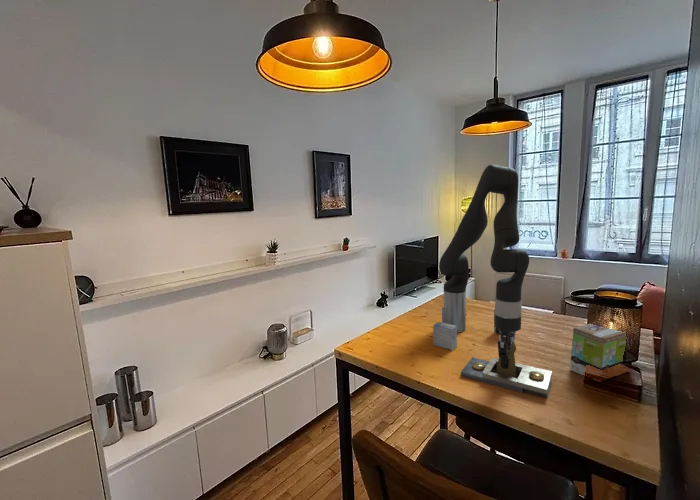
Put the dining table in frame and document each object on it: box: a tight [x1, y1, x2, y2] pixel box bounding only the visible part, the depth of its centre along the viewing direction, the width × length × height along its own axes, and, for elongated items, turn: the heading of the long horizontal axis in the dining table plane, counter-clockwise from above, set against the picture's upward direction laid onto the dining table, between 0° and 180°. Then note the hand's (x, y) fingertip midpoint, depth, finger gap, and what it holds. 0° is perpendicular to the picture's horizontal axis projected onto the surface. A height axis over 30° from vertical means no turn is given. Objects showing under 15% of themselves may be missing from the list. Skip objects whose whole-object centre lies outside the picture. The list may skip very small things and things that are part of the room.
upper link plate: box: [482, 357, 553, 398], centre depth 108 cm, size 18×12×4 cm
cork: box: [495, 342, 518, 378], centre depth 109 cm, size 6×6×11 cm
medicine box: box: [432, 321, 458, 351], centre depth 135 cm, size 8×4×9 cm, turn 47°
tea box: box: [569, 323, 627, 376], centre depth 111 cm, size 15×10×15 cm, turn 114°
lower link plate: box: [460, 356, 524, 394], centre depth 112 cm, size 18×12×2 cm, turn 54°
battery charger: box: [493, 309, 501, 335], centre depth 144 cm, size 7×4×11 cm, turn 103°
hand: (506, 364), depth 110 cm, fingers closed on cork, 4 cm apart
